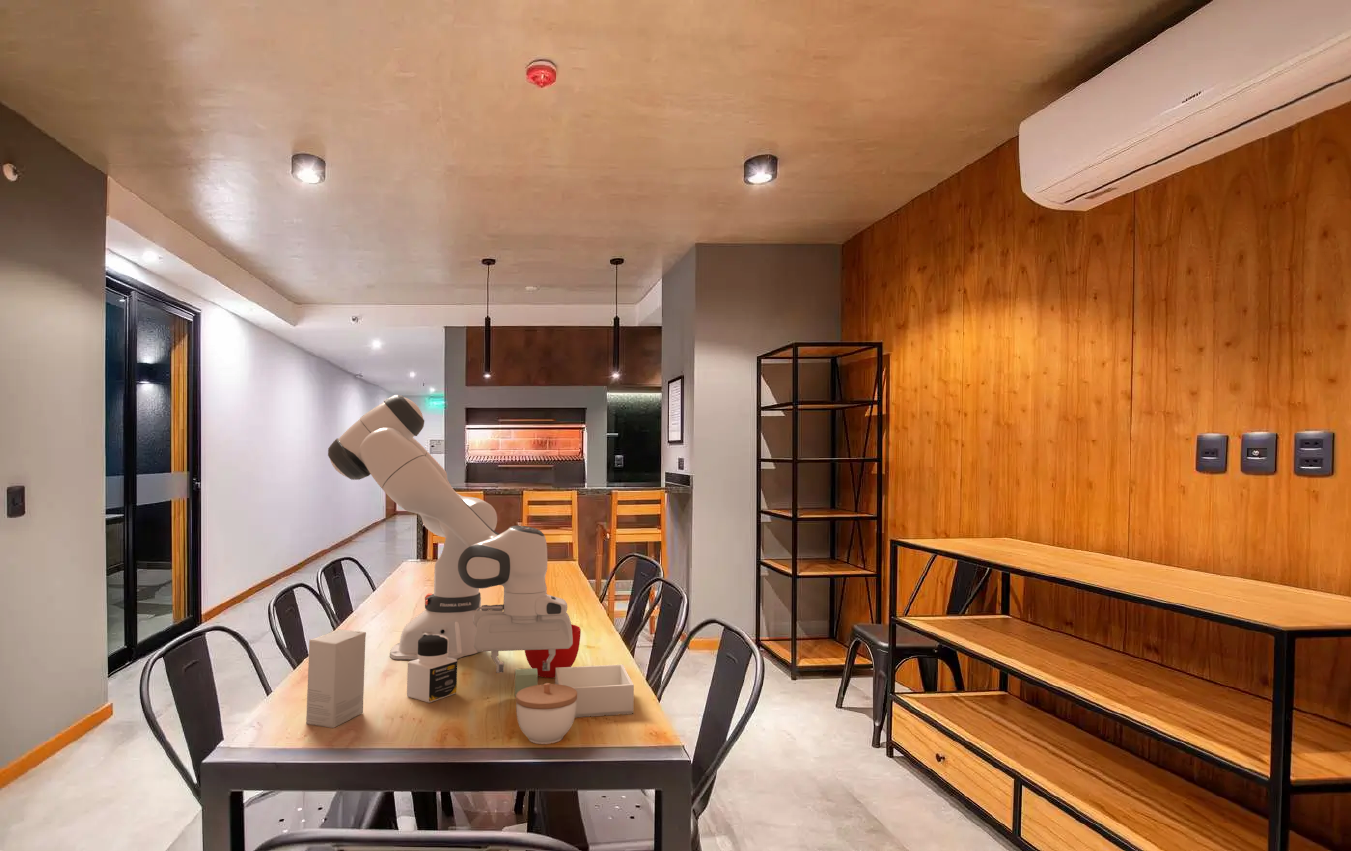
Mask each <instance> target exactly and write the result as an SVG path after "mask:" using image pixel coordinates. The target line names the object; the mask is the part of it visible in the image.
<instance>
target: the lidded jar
mask: <svg viewBox="0 0 1351 851" xmlns="http://www.w3.org/2000/svg"><path fill="white" fill-rule="evenodd" d="M576 700H577V691H576V690H575V689H574V688H572V687H569V686H565V685H559V684H555V683H550V682H546V683H544V684H537V685H534V686H530V687H527V688H524V689H522V690H520V691H519V692H518V693H517V694H516V697H515V702H516V703H515V704H516V705H515V706H516V707H515V708H516V711H515V712H516V719H517V723H518V726H519V729H520V730H521V732H522V733H523V735H524V736H526V737H527V738H528V742H531V743H532V744H537V745H550V744H551V743H552V744H556V743H559V742H560V741H562V740H563V739H564V736H565V735H566V734H567V733H568V732H569V731H570V729H571V728H572V726H573V724H574V722H575V718H576V717H575V714H576ZM552 744H551V745H552Z"/></svg>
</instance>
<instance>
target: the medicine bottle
mask: <svg viewBox="0 0 1351 851" xmlns="http://www.w3.org/2000/svg"><path fill="white" fill-rule="evenodd" d="M448 646H449V639H448V638H447V637H446V636H443V635H427V636H424V637H422V638H420V639H419V640H418V658H419V659H412V660H410V661H408V662H407V675H406V677H407V678H406V681H407V682H406V697H408V698H412V699H415V700H418V701H422V702H425V703H428V704H431V703H433V702H436V701H439V700H441V699H445V698H447V697H451V696H453V695H456V694H457V688H458V687H457V686H458V684H457V683H458V659H453V658H449V657H447V656H448Z"/></svg>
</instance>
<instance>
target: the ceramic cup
mask: <svg viewBox="0 0 1351 851" xmlns="http://www.w3.org/2000/svg"><path fill="white" fill-rule="evenodd" d="M571 626H572V636H573V644H572V646H571V647H570V648H569V649H556V651H555V656H554V658H553V659H552V661H551V662H550V671H543V661H545V660H547V659H548V657H549V655H550V654H549V649H544V650H524V654H525V659H526V661H527V663H528V664H529V666H530V669H533V668H537V673H538V677H541V678H549V679H550V678H551V679H552V678H555V671H556V668H559V667H573V664H574V663H575V661H576V659H577V656H578V654H579V653H578V652H579V650H580V649H579V648H580V645H581V644H580V642H581V632H582V631H581V630H582V629H581V627H580V626H578V625H575V624H572V623H571Z"/></svg>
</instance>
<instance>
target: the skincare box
mask: <svg viewBox="0 0 1351 851" xmlns="http://www.w3.org/2000/svg"><path fill="white" fill-rule="evenodd" d="M366 636H367V632H366V631H358V630H350V629H337V630H334V631H332V632H329V633H326V634H323V635H320V636H317V637H314V638H312V639H309V643H308V644H309V645H308V665H307V666H308V667H307V669H308V670H307V693H306V719H305V721H306V722H305V724H306V725H309V726H310V725H311V726H317V727H325V728H332V729H334V728H335V727H338V726H340V725H342V724H344V723H345V722H348V721H349V720H352V719H354V718H355V717H358V716H359V715H361V714H364V693H365V692H364V691H365V664H366V662H365V658H366Z"/></svg>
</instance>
